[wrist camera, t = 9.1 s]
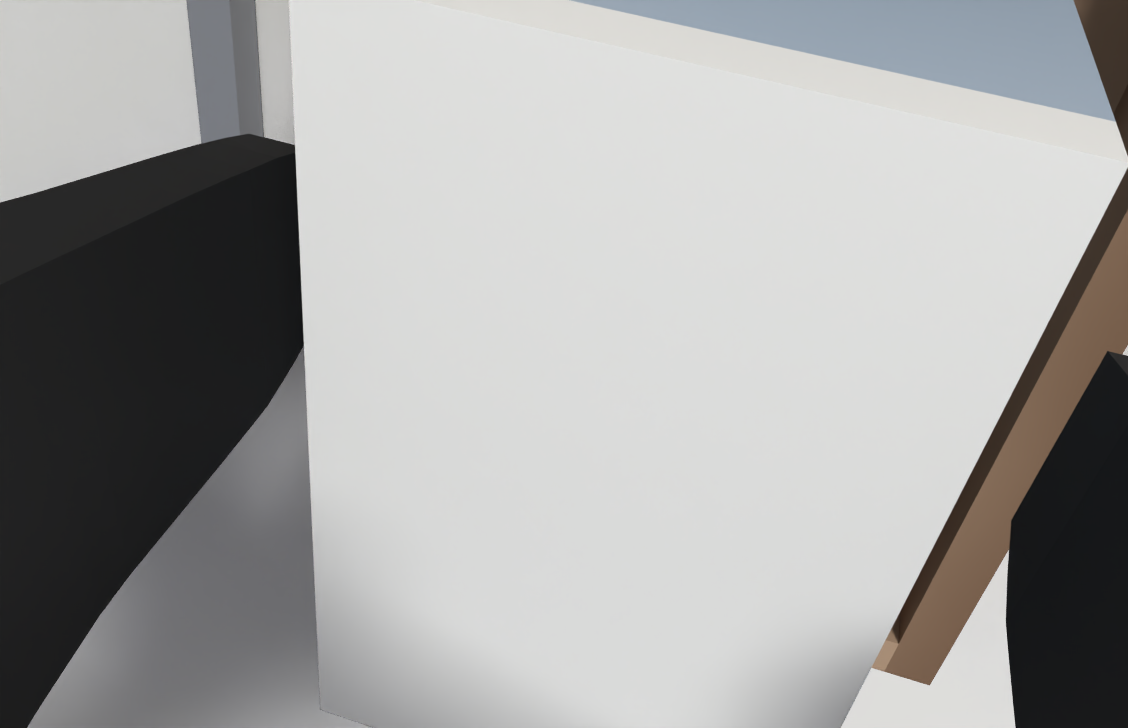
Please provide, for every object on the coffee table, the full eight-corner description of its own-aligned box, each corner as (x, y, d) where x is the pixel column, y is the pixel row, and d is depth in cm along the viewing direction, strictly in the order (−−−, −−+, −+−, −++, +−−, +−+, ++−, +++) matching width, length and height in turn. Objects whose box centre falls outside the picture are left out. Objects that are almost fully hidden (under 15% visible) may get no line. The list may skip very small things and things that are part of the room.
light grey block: (514, 354, 15) (319, 709, 10) (579, -201, 10) (287, -30, 6) (824, 439, 14) (771, 861, 9) (1034, -113, 10) (1130, 163, 5)
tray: (396, 397, 17) (327, 501, 15) (421, -492, 10) (297, -513, 8) (929, 549, 16) (929, 685, 14) (1385, -343, 9) (1517, -324, 7)
